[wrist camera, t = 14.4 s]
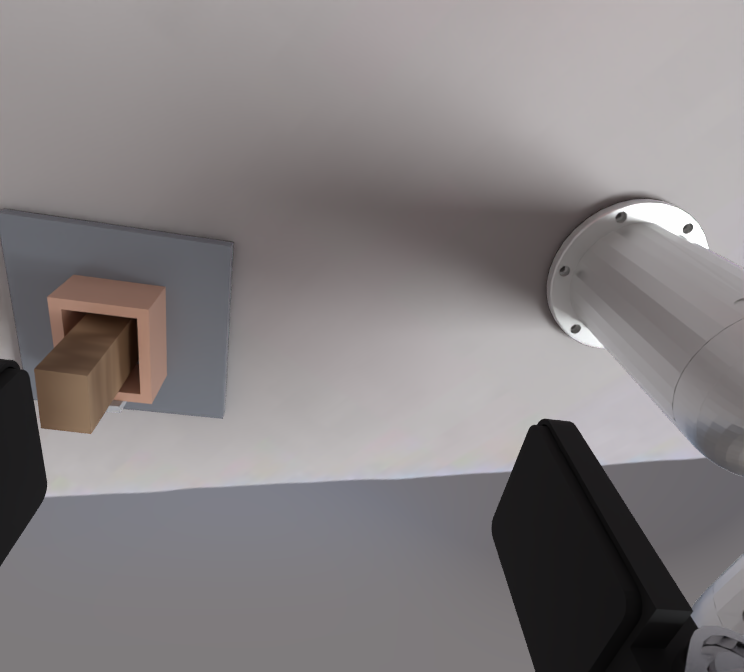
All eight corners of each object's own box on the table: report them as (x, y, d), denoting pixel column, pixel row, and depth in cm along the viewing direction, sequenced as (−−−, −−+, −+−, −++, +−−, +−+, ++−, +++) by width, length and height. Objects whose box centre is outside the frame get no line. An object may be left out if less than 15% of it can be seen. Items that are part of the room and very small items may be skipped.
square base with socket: (233, 242, 39) (217, 270, 34) (224, 411, 46) (211, 455, 41) (4, 208, 37) (-48, 233, 32) (34, 392, 44) (-5, 435, 39)
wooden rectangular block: (142, 304, 40) (87, 376, 31) (142, 354, 42) (91, 433, 33) (101, 298, 39) (33, 369, 31) (103, 348, 41) (40, 428, 33)
